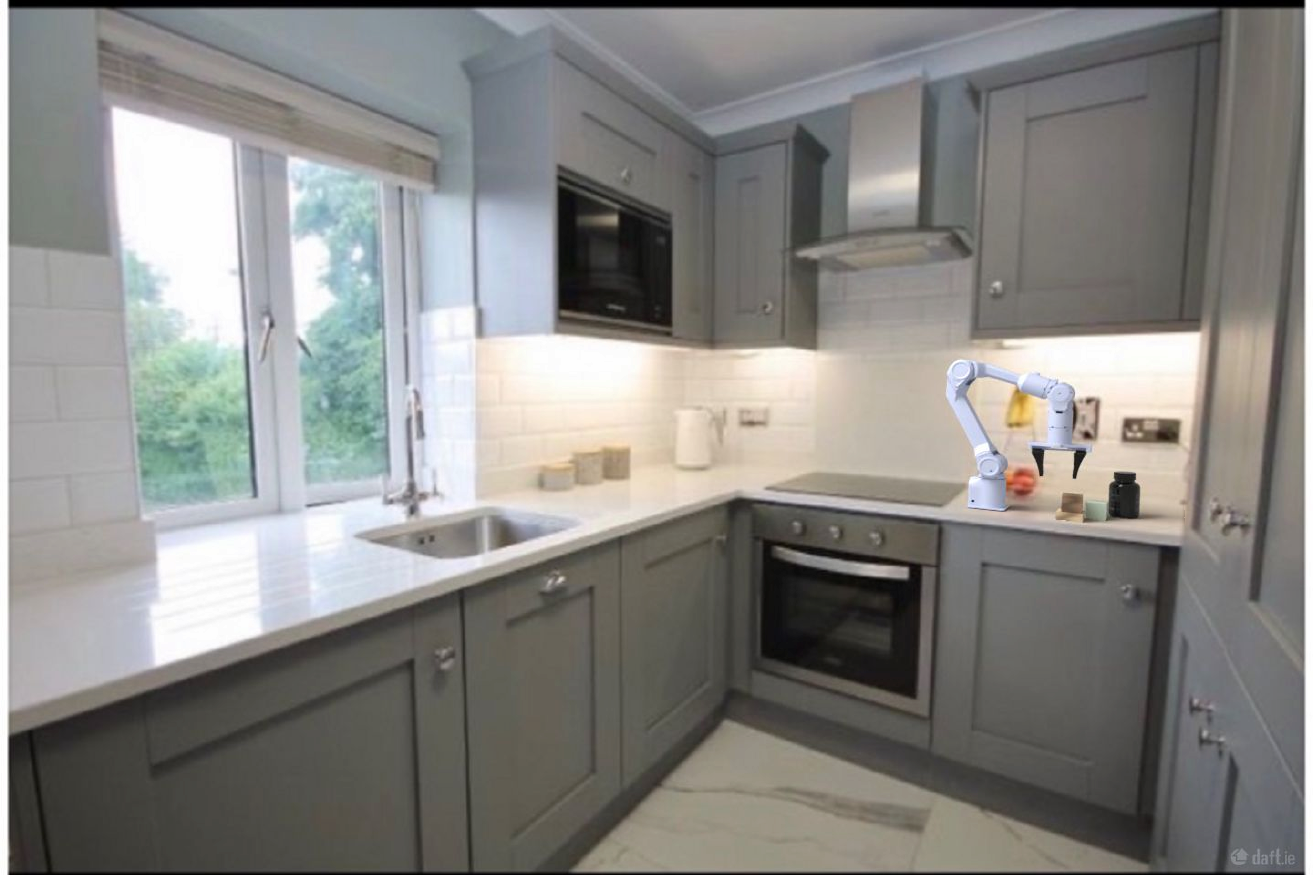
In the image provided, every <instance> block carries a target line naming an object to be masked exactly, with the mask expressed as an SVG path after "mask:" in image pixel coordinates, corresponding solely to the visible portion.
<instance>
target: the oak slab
mask: <svg viewBox="0 0 1313 875" xmlns="http://www.w3.org/2000/svg"><path fill="white" fill-rule="evenodd" d="M1054 513H1055V516H1054V517H1055V518H1054V519H1056V520H1055V521H1061V520H1066V521H1065V522H1070V521H1073V522H1072V523H1082V524H1083V522H1084V521H1085V519H1084V518H1085V513H1086V510H1082V514H1076V513H1066V512H1061V507H1060V508H1057V510H1055V512H1054Z"/></svg>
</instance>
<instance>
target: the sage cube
mask: <svg viewBox="0 0 1313 875" xmlns="http://www.w3.org/2000/svg"><path fill="white" fill-rule="evenodd" d="M1108 515H1109V514H1108V501H1104V500H1095V499H1087V500H1086V502H1085V518H1089V519H1088V520H1093V519H1097V520H1096V521H1102V520H1104V521H1103V522H1106V521H1107V520H1106V519H1108Z"/></svg>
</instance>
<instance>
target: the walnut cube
mask: <svg viewBox="0 0 1313 875" xmlns="http://www.w3.org/2000/svg"><path fill="white" fill-rule="evenodd" d="M1061 495H1062V496H1061V507H1060V509H1061V512H1066V513H1076V514H1082V511H1084V510H1083V508H1084V494H1083V493H1071V492H1063V493H1062V494H1061Z"/></svg>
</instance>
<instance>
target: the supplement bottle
mask: <svg viewBox="0 0 1313 875" xmlns="http://www.w3.org/2000/svg"><path fill="white" fill-rule="evenodd" d="M1113 479H1114V480H1113V481H1111V482H1110V483H1109V484H1108V499H1107V500H1108V501H1107V502H1108V514H1107V515H1108V516H1110V517H1113V518H1116V517H1118V519H1125V518H1127V519H1130V520H1131V519H1138V518H1139V517H1140V510H1141V509H1140V508H1141V485H1140V484H1139V483H1138V482H1136V481H1137V473H1136V472H1133V471H1114V472H1113Z"/></svg>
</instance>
